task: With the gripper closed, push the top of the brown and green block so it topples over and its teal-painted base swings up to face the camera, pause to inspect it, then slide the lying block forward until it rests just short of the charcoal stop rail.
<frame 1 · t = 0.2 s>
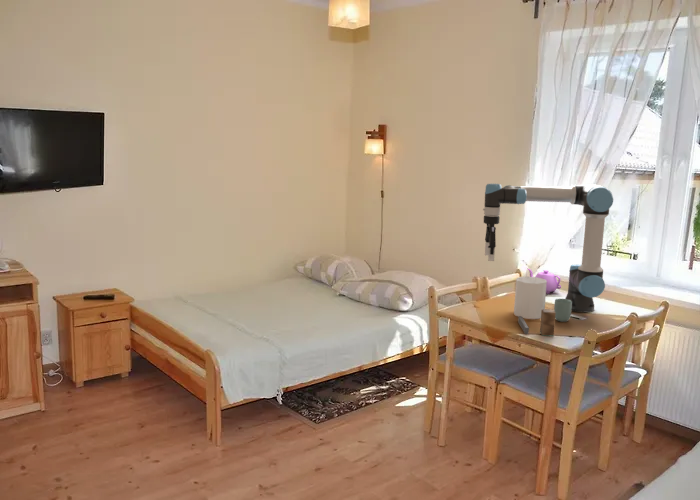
hand: (489, 258, 303), 28 cm above the table, fingers open, 13 cm apart
brown and green block: (546, 334, 276), on the table
stop rail: (523, 327, 285), on the table
teapot: (542, 291, 351), on the table
container: (529, 315, 306), on the table
cup: (561, 321, 296), on the table
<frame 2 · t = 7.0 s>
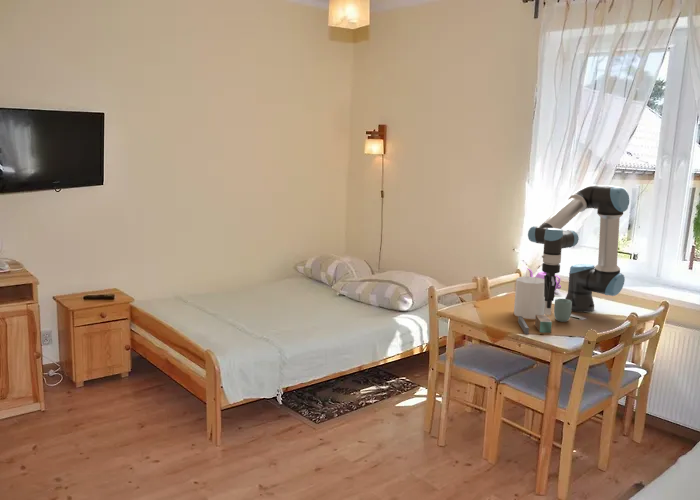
hand: (547, 314, 276), 9 cm above the table, fingers closed
brown and green block: (545, 327, 278), point 2 cm above the table, tilted 90°
everything else where it was.
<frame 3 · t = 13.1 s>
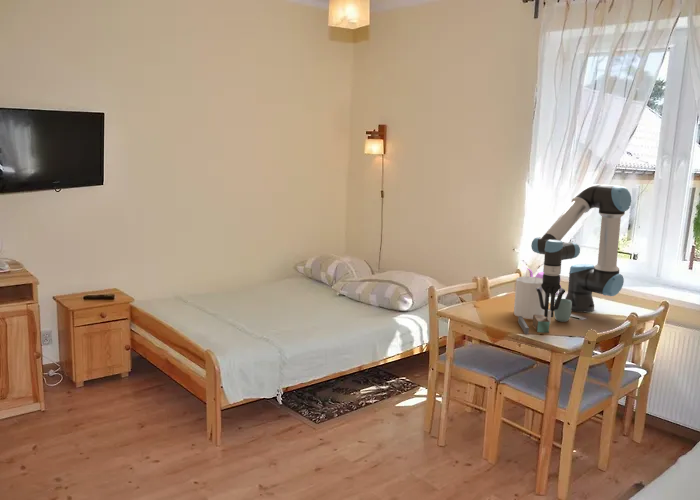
hand: (548, 323, 283), 3 cm above the table, fingers closed
brown and green block: (543, 327, 278), point 2 cm above the table, tilted 90°, touching gripper
everything else where it was.
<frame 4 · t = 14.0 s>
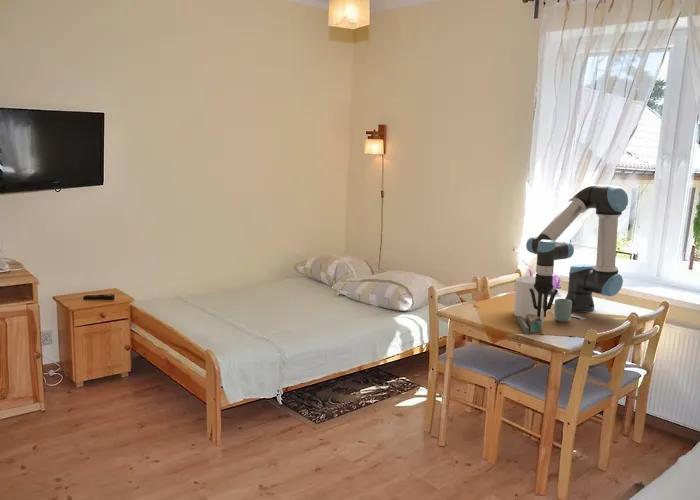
hand: (540, 323, 283), 2 cm above the table, fingers closed
brown and green block: (536, 326, 278), point 2 cm above the table, tilted 90°, touching gripper
everything else where it was.
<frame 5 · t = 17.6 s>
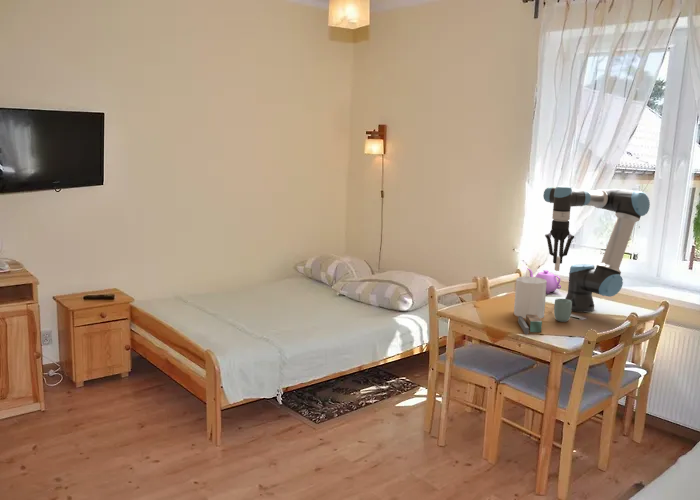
hand: (556, 270, 285), 26 cm above the table, fingers closed
brown and green block: (536, 326, 278), point 2 cm above the table, tilted 90°
everything else where it was.
at the end: brown and green block tilted 90°; brown and green block inside the target area (0.0 cm from its centre), point 2.4 cm above the table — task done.
